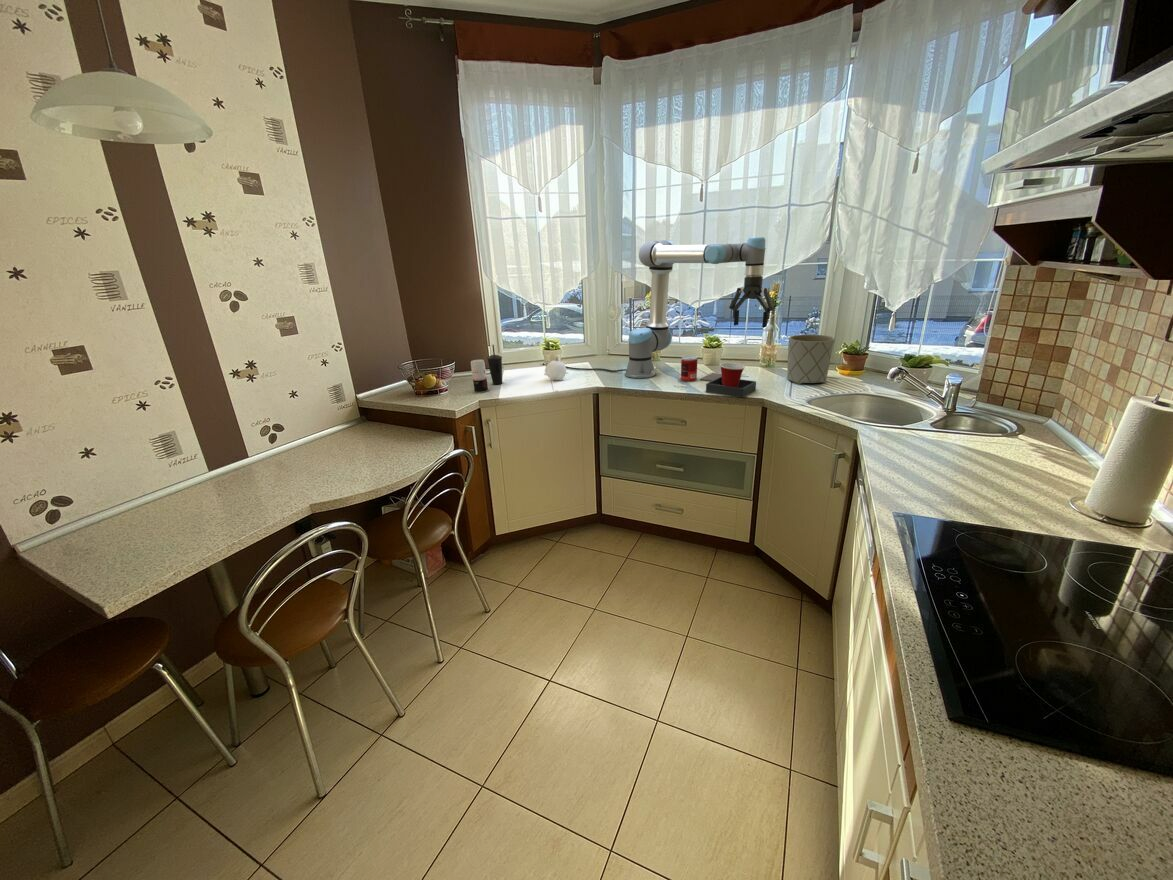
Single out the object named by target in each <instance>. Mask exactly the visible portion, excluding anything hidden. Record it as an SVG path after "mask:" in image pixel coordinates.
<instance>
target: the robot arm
mask: <svg viewBox="0 0 1173 880" xmlns="http://www.w3.org/2000/svg"><path fill="white" fill-rule="evenodd" d="M765 254H766V238H765V237H763V236H759V237H748V238H747V239H746V242H744V243H743V242H742V243H741V242H740V243H717V244H716V243H715V244H675V243H674V242H672V241H671V240H648V241H645V242H644V243H643V244H641V246H640V248H639V250H638V259H639V262H640V263H641V264H642V265H644V267H648V268H649V269H648V270H649V272H650V273H651V282H650V283H651V285H650V286H651V287H650V303H649V320H648V322H647V323H646V324H645V327H640V328H635V329H632V330H631V331H630V332H629V333H628V363H627V367H626V368H624V369H608V368H603V367H602V368H601V367H599V368H598V367H595V368H594V367H593V368H589V367H587V368H586V367H585V368H584V367H571V366H566V365H565V366H566V369H570V370H580V371H606V372H611V373H616V372H617V373H618V372H625V376H626V377H627V378H631V379H648V378H649V379H650V378H654V376H656V369H655V366H654V362H653V353H654V352H658V351H663V350H664V349H667V348H668V347H669V346H670V345H671V344H672V341H673V333H672V331H671V329H670V328H669V324H668V323H667V312H668V311H667V310H668V299H669V297H668V296H669V281H670V273H672V271H673V269H674V264H711V265H719V264H728V263H741V262H742V263H744V262H745V267H744V279H743V287H737V288H736V293H735V295H734V296H733V298H732V301H731V303H730V305H729V306H728V309H729V310H732V318H733V326H738V325H739V318H740V310H739V309H740V307H741V306H742V305H743V304H744V303H745V302H746V300H748V299H752V300H753V299H756V300H757V301H758V303H759V304H760V306H761V307H762V309H763V310H764V311H763V315H762V325H761V328H764V329H765V328H767V327H768V320H770V314H771V312H772V311H774V310H775V309H776V308H775V305H774V302H773V300H772V297H771V294H770V288H769V287H765V288H763V287H762V286H763V280H764V277H763V275H764V268H765V267H764V266H765ZM762 293H763V295H762ZM742 294H743V295H742ZM741 295H742V296H741ZM763 296H764V298H765V299H764V298H763ZM740 297H741V298H740ZM544 363H545V362H543V363H542V365H545V364H544Z"/></svg>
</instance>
